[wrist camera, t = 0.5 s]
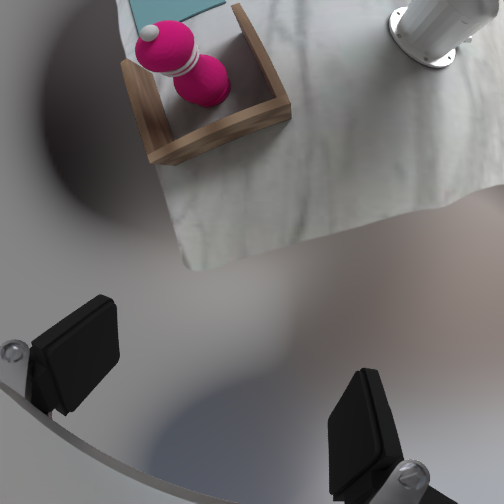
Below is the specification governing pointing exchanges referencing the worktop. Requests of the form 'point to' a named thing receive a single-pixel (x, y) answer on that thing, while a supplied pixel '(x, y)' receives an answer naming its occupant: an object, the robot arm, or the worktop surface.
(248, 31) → the open side box
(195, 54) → the pepper mill
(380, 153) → the worktop surface
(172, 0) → the mat
